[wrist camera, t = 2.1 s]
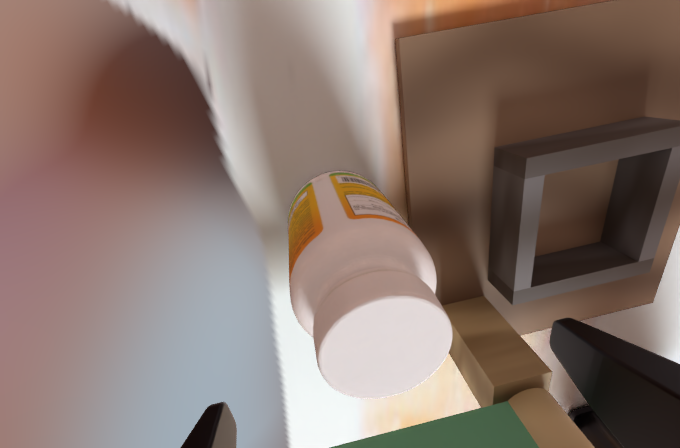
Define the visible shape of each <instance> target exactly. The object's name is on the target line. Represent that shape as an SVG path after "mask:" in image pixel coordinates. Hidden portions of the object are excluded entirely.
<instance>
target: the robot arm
mask: <svg viewBox="0 0 680 448" xmlns="http://www.w3.org/2000/svg"><path fill="white" fill-rule="evenodd" d="M550 346H551V349H552V351H553V352H554V354H555V355H556V357H557V358H558V360H559V361H560V363H561V364H562V366H563V367H564V369H565V370H566V372H567V373H568V375H569V376H570V377H571V379H572V380H573V382H574V383H575V385H576V386H577V388H578V389H579V391H580V392H581V394H582V395H583V397H584V398H585V399H586V401H587V402H588V404H589V405H590V406H588V407H584V408H580V409H576V410H574V411H572V412H571V414H570V418H571V420H572V421H573V422H574V423H575V424H576V426H577V427H578V428H579V429H580V430H581V432H582V433H583V434H584V435H585V436H586V438H587V439H588V440H589V441H590V442H591V444H592V445H593V446H594V447H595V448H680V364H678V363H676V362H674V361H671V360H669V359H667V358H664V357H662V356H660V355H657V354H655V353H653V352H650V351H648V350H645V349H643V348H641V347H638V346H636V345H634V344H631V343H629V342H627V341H624V340H622V339H620V338H617V337H615V336H613V335H610V334H608V333H606V332H603V331H601V330H599V329H596V328H594V327H592V326H589V325H587V324H585V323H582V322H580V321H578V320H575V319H573V318H563V319H559V320H555V321H554V322H553V324H552V330H551V336H550ZM236 435H237V428H236V422H235V420H234V417H233V415H232V413H231V411H230V409H229V407H228V405H227V404H226V403H225V402H221V403H217V404H213V405H210V406H209V407H208V408H207V409H206V410H205V412H204V413H203V415H202V416H201V418H200V419H199V421H198V422H197V424H196V425H195V427H194V429H193V430H192V431H191V433H190V434H189V436H188V437H187V439H186V440H185V442H184V444H183V445H182V447H181V448H236Z"/></svg>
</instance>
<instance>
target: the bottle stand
mask: <svg viewBox="0 0 680 448" xmlns="http://www.w3.org/2000/svg"><path fill="white" fill-rule="evenodd" d="M395 45H396V59H397V72H398V86H399V99H400V113H401V126H402V140H403V153H404V167H405V180H406V194H407V207H408V221H409V227H410V228H411V230H412V231H413V232H414V233H415V234H416V235H417V237H418V238H419V239H420V240H421V242H422V243H423V245H424V246H425V248H426V249H427V251H428V252H429V254H430V256H431V258H432V260H433V263H434V266H435V271H436V279H437V283H436V291H435V295H436V297H437V299H438V301H439V302H440V304H441V305H442V307H443V309H444V310H445V312H446V313H447V315H448V317H449V319H450V322H451V326H452V344H451V347H450V350H449V354H450V355H451V357H452V359H453V360H454V362H455V364H456V366H457V367H458V369H459V371H460V372H461V374H462V376H463V378H464V379H465V381H466V383H467V384H468V386H469V388H470V389H471V391H472V393H473V395H474V396H475V398H476V400H477V401H478V403H479V405H480V406H481V408H483V407H487V406H491V405H495V404H498V403H502V402H506V401H508V400H509V399H510V398H512V397H513V396H514V395H516V394H518V393H519V392H522V391H524V390H527V389H531V388H542V389H545V390H547V391H549V385H550V380H551V375H552V371H551V370H550V369H549V368H548V366H547V365H546V364H545V363H544V362H543V361H542V360H541V359H540V358H539V356H538V355H537V354H536V353H535V352H534V351H533V350H532V349H531V348H530V346H529V345H528V344H527V343H526V342H525V341H524V340H523V339H522V338H521V336H520V335H524V334H528V333H532V332H536V331H540V330H544V329H548V328H552V324H553V322H554V321H555V320H559V319H563V318H573V319H575V320H578V321H581V320H585V319H589V318H593V317H597V316H601V315H605V314H609V313H613V312H617V311H621V310H625V309H629V308H633V307H637V306H641V305H645V304H649V303H653V301H654V298H655V295H656V292H657V289H658V286H659V283H660V281H661V278H662V275H663V272H664V269H665V266H666V263H667V260H668V257H669V254H670V251H671V249H672V246H673V243H674V240H675V237H676V234H677V231H678V228H679V225H680V0H613V1H607V2H601V3H596V4H590V5H584V6H579V7H573V8H567V9H562V10H556V11H550V12H545V13H539V14H533V15H528V16H522V17H517V18H511V19H505V20H500V21H494V22H488V23H483V24H477V25H471V26H466V27H460V28H454V29H449V30H443V31H437V32H432V33H426V34H420V35H415V36H409V37H403V38H398V39H395Z"/></svg>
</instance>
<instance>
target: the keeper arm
mask: <svg viewBox="0 0 680 448" xmlns="http://www.w3.org/2000/svg"><path fill="white" fill-rule="evenodd" d="M331 448H595V447H594V446H593V445H592V444H591V442H590V441H589V440H588V439H587V438H586V436H585V435H584V434H583V433H582V432H581V430H580V429H579V428H578V427H577V426H576V424H575V423H574V422H573V421H572V420H571V418H570V417H569V416H568V415H567V414H566V412H565V411H564V410H563V409H562V407H561V406H560V405H559V404H558V403H557V401H556V400H555V399H554V398H553V397H552V395H551V394H550V393H549V392H548V391H547V390H545V389H542V388H531V389H527V390H524V391H522V392H519V393H518V394H516V395H514V396H513V397H512V398H510V399H509V400H508V401H506V402H502V403H498V404H495V405H491V406H487V407H483V408H479V409H476V410H472V411H468V412H464V413H460V414H456V415H453V416H449V417H445V418H441V419H437V420H434V421H430V422H426V423H422V424H418V425H415V426H411V427H407V428H403V429H399V430H396V431H392V432H388V433H384V434H380V435H376V436H373V437H369V438H365V439H361V440H357V441H354V442H350V443H346V444H342V445H338V446H335V447H331Z"/></svg>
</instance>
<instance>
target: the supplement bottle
mask: <svg viewBox="0 0 680 448" xmlns="http://www.w3.org/2000/svg"><path fill="white" fill-rule="evenodd" d="M288 234H289V283H290V297H291V304H292V308H293V311H294V314H295V316H296V318H297V320H298V322H299V323H300V325H301V326H302V327H303V329H304V330H305V331H306V332H307V333H308V334H309V335H310V336H312V337H313V338H314V344H315V350H316V358H317V363H318V367H319V370H320V372H321V374H322V376H323V377H324V379H325V380H326V382H327V383H328V384H329V385H330V386H331V387H332V388H334V389H335V390H337V391H339V392H341V393H343V394H345V395H348V396H352V397H356V398H361V399H378V398H386V397H390V396H395V395H398V394H401V393H404V392H406V391H408V390H410V389H412V388H414V387H416V386H418V385H420V384H421V383H423V382H424V381H425V380H427V379H428V378H429V377H430V376H431V375H433V374H434V373H435V372H436V371H437V369H438V368H439V367H440V366H441V365H442V363H443V362H444V360H445V359H446V357H447V355H448V353H449V350H450V347H451V344H452V326H451V322H450V319H449V317H448V315H447V313H446V312H445V310H444V309H443V307H442V305H441V304H440V302H439V301H438V299H437V297H436V295H435V291H436V283H437V279H436V271H435V266H434V263H433V260H432V258H431V256H430V254H429V252H428V251H427V249H426V248H425V246H424V245H423V243H422V242H421V240H420V239H419V238H418V237H417V235H416V234H415V233H414V232H413V231H412V230H411V228H410V227H409V226H408V225H407V223H406V222H405V221H404V220H403V218H402V217H401V216H400V215H399V213H398V212H397V211H396V210H395V209H394V207H393V206H392V205H391V204H390V202H389V201H388V200H387V199H386V198H385V196H384V195H383V194H382V193H381V192H380V190H379V189H378V188H377V187H376V186H375V185H374V184H373V183H372V182H370V181H369V180H368V179H366V178H365V177H363V176H361V175H358V174H356V173H352V172H347V171H333V172H327V173H324V174H321V175H319V176H316V177H315V178H313V179H311V180H310V181H309V182H307V183H306V184H305V185H304V186H303V187H302V188H301V189H300V190H299V191H298V193H297V194H296V196H295V197H294V199H293V201H292V203H291V206H290V210H289V217H288Z"/></svg>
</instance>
